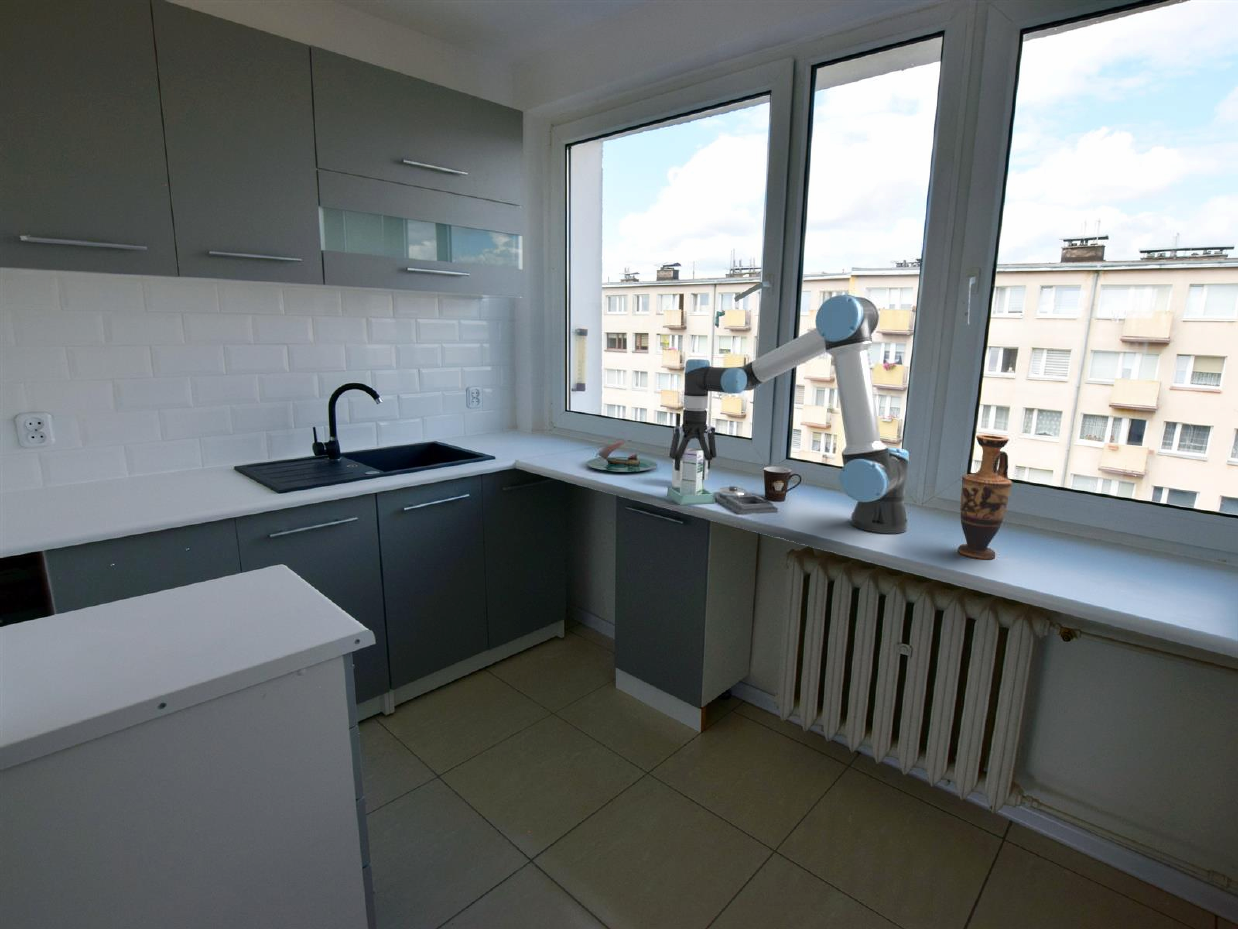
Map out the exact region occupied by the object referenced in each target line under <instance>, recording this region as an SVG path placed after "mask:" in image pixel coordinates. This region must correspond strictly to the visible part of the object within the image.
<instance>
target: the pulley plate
mask: <svg viewBox="0 0 1238 929" xmlns="http://www.w3.org/2000/svg"><path fill="white" fill-rule="evenodd" d="M712 493H714V494H715V502H717V503H719V504H720V505H722V506H723V507H725V508H727V509H728V510H730V511H732V510H733V511H732V512H734V513H735V514H737V513H738V514H737V515H739V514H741V515H751V514H750V513H757V514H768V513H769V514H770V513H778V507H776V506H774V503H772V502H771V501H768V500H766V499H765V498H762V497H761V496H758V495H752V494H750V493H749V492H748V490H747V489H745V488H742V487H738V486H735V485H733V486H731V485H730V486H723V487H719V488H718V492H715V491H714V492H712ZM748 513H749V514H748Z"/></svg>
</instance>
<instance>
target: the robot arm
mask: <svg viewBox="0 0 1238 929" xmlns="http://www.w3.org/2000/svg"><path fill="white" fill-rule="evenodd" d="M879 320H880V315H879V311H878V309H877V306H876V305H875V303H874V302H872V301H871V300H870V299H868V298H865V297H860V296H854V295H851V294H838V295H834V296H832V297H830V298H828V299H827V300H825V301H824V302H823V303H822V304H821V305H820V307H819V308H818V310H817V312H816V315H815V328H813V329H811V330H810V331H808V332H806V333H804V334H802V335H800V336H798V337H796V338H794V339H791V340H790V341H788V342H786V343H785V344H783V345H781V346H779V347H777V348H775V349H773V350H771V351H769V352H767V353H765V354H764V355H762V356H759V357H758V358H756V359H754V360H752V361H750V362H748V363H746V364H744V365H742V366H732V367H731V366H730V367H723V366H721V367H720V366H719V367H718V366H716V367H715V366H711V365H710V364H711V363H710V360H708V359H701V358H700V359H698V358H697V359H696V358H694V359H693V358H691V359H688V360H686V362H685V369H684V373H683V374H684V387H683V388H684V390H683V391H684V392H683V408H684V409H683V410H682V424H681V426H678V427H675V426H674V427H672V433H673V435H672V440H671V445H670V451H669V456H668V457H669V458H670V459H672V460H673V459H674V460H675V470H676V471H677V480H678V481H682V471H683V461H682V460H681V458H682V456H683V453H684V451H685V450H686V449H687V446H688V444H689V443H690V442H691V440H695V439H697V440H698V443H699V446H700V449H702V450H704V471H703V481H707V480H708V473H707V469H708V470H710V468H711V461H712V460H713V459H715V458H717V449H716V439H715V438H716V437H715V434H716V427H713V426H708V424H707V420H708V410H707V409H708V404H709V403H708V400H709V392H714V393H724V394H729V395H731V394H739V395H740V394H741V393H742V392H743V391H744V392H745V391H752V390H756V389H758V388H759V387H760V386H761V385H762V384H763V383H765V382H767V381H770V380H771V379H773V378H776V377H779V375H781V374H784V373H785V372H787V371H791V370H793V369H794V368H796V367H798V366H800V365H802V364H804V363H807V362H809V361H810V360H812V359H815V358H817V357H820V356H821V355H823V354H825V353H827V354H829V355H830V356H831V357H832V358H833V366H834V372H835V379H836V386H837V394H838V398H839V404H840V412H841V419H842V426H843V431H844V438H845V445H846V446H845V448H844V449H843V450H842V451H841V459H842V464H843V467H842V468H841V470H840V473H839V485H840V487H841V489H842V491H843V493H844V494H846V496H848V497H849V498H851V499H852V500H854V501H857V502H856V504H855V507H854V509H853V511H852V513H851V514H850V524H851V525H852V526H853V527H855V528H857V529H860V530H862V531H863V530H864V531H868V532H873V533H877V534H878V533H879V534H887V535H888V534H902V533H905V532H907V530H908V519H907V513H906V509H905V508H906V507H905V504H904V501H905V492H906V491H905V490H906V484H907V476H908V467H909V463H910V458H909V457H910V454H909V451H908V450H907V449H905V448H904V449H903V448H897V447H890V446H888V445H887V444H885V443H884V442H883V441H882V440H881V433H880V426H879V421H878V415H877V414H878V412H877V408H876V401H875V392H874V386H873V381H872V374H871V368H870V361H869V353H868V350H869V348H870V347H871V346H872V344H873V338H872V335H873V333H874V332H875V330H876V329H877V327H878V325H879ZM682 432H683V436H682V438H681V437H680V436H681V434H682ZM705 433H707V441H708V445H707V442H706V437H705ZM680 438H681V442H680ZM679 442H680V444H679Z"/></svg>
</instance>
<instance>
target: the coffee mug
mask: <svg viewBox="0 0 1238 929" xmlns="http://www.w3.org/2000/svg"><path fill="white" fill-rule="evenodd" d="M791 472H792V470H791V469H789V468H786V467H781V466H780V467H779V466H767V467H765V466H764V468H763V480H764V481H763V482H764V484H763V486H764V500H766V501H768V502H773V503H781V502H785V501H786V497H787V494H788V492H790V491H792V490H794V489H795V488H797V487H798V486H799V485H800V484H801V483H802V476H801V475H800V474H797V473H793V474H791ZM794 476H797V477H798V478H799V481H798V482H797V484H795V485H793V486H792V487H789V481H790V480H791V479H792V478H793V477H794ZM788 487H789V488H788Z"/></svg>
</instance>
